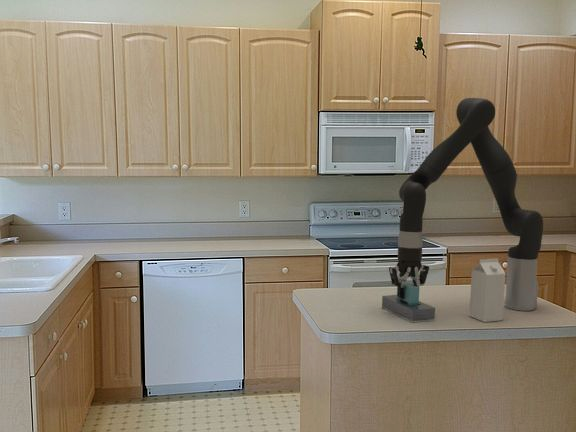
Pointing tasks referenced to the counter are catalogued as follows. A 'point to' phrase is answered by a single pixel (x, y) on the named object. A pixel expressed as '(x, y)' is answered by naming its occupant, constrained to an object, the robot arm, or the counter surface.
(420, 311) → the grey socket block
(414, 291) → the teal elongated block
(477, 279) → the milk carton
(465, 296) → the counter surface
